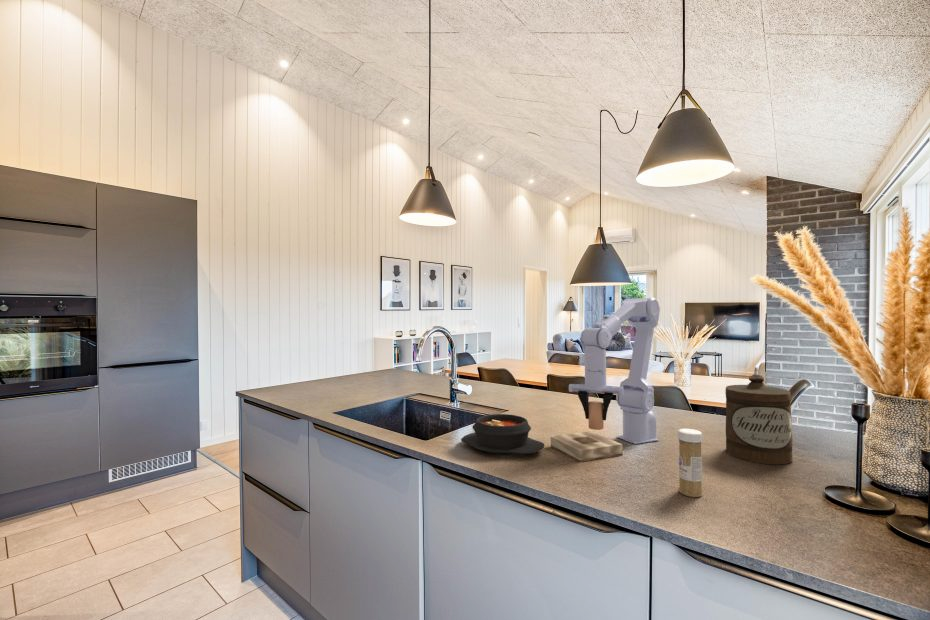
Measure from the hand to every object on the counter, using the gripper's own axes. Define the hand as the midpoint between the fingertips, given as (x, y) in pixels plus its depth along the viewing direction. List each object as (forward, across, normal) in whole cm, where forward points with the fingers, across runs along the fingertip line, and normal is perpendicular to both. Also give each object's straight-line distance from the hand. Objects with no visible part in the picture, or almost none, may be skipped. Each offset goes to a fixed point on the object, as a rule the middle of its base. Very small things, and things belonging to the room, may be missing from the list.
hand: (595, 418), depth 117 cm
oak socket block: (+9, -3, +1) cm, 10 cm away
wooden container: (+10, +41, +14) cm, 44 cm away
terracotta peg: (+2, 0, 0) cm, 3 cm away
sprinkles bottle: (+10, +22, -20) cm, 31 cm away
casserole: (+10, -26, -6) cm, 28 cm away
